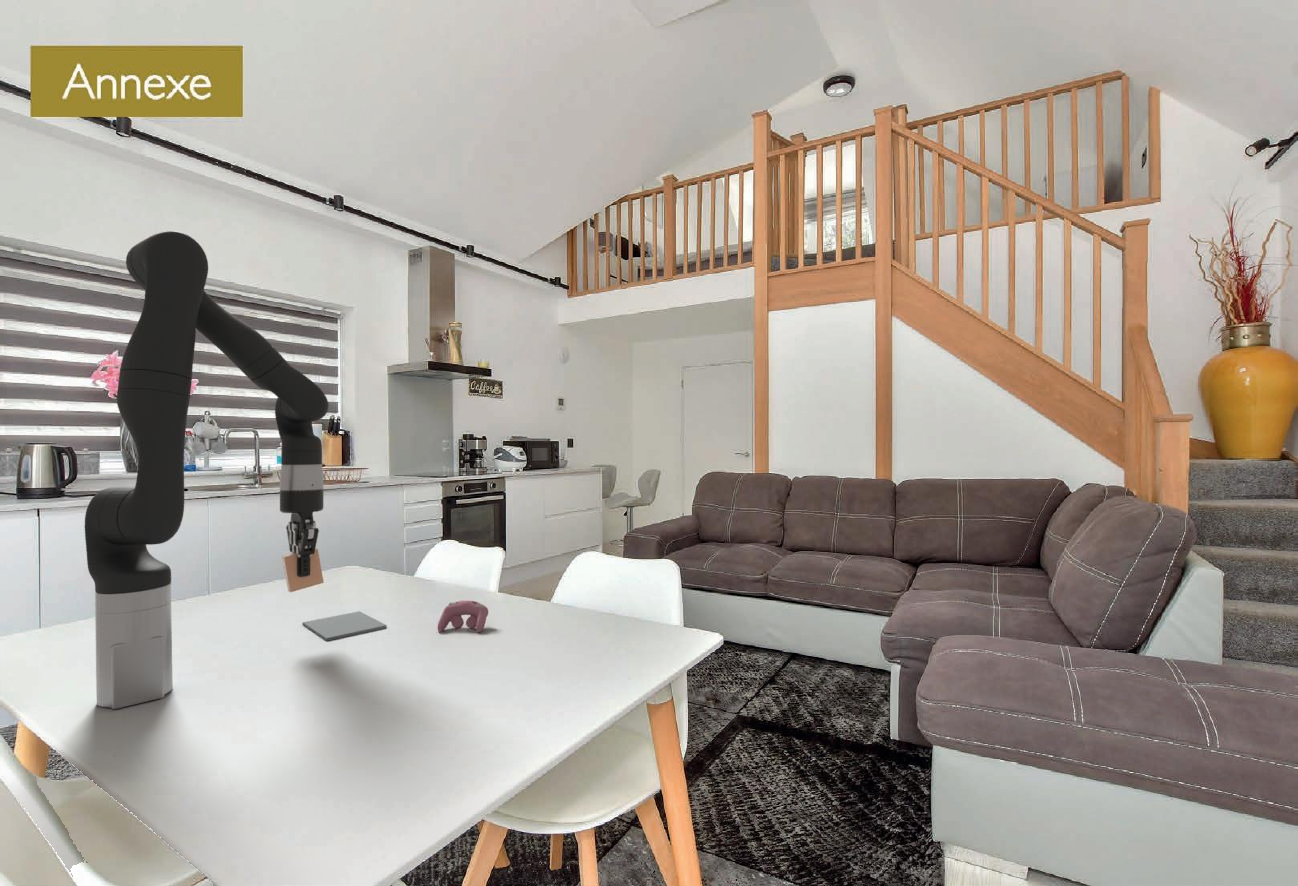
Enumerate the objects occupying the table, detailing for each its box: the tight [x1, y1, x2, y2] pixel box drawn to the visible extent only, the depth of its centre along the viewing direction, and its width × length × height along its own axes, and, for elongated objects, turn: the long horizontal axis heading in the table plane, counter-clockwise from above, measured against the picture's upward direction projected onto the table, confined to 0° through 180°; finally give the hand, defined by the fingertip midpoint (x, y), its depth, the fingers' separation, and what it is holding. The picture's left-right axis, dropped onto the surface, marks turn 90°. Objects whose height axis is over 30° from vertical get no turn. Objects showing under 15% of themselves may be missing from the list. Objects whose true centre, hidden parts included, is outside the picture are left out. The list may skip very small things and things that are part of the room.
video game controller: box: [437, 600, 489, 633], centre depth 130 cm, size 10×5×7 cm, turn 85°
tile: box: [281, 547, 324, 593], centre depth 120 cm, size 2×6×7 cm, turn 134°
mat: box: [302, 611, 387, 642], centre depth 132 cm, size 16×12×1 cm
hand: (301, 575), depth 120 cm, fingers closed on tile, 1 cm apart
